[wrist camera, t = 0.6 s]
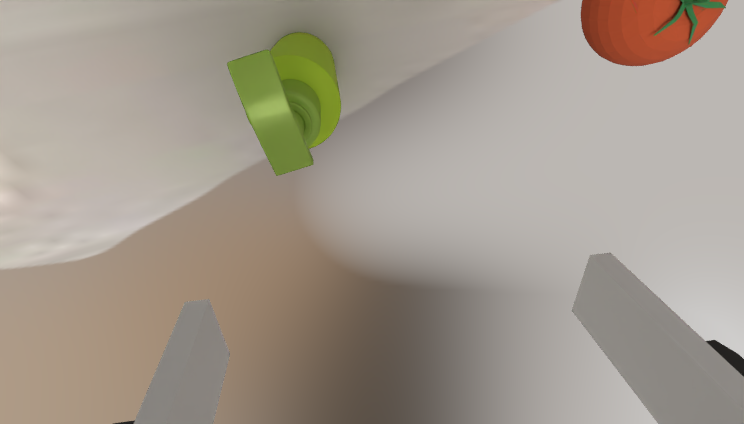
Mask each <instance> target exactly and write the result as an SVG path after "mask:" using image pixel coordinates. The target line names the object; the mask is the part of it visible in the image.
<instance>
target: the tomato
mask: <svg viewBox="0 0 744 424" xmlns="http://www.w3.org/2000/svg"><path fill="white" fill-rule="evenodd" d="M727 2H728V0H583V1H582V7H581V22H582V29H583V33H584V35H585V38H586V40H587V42H588V43H589V45H590V46H591V47H592V49H593V50H594V51H595V52H596V53H597V54H598V55H599V56H601V57H603V58H605V59H607V60H609V61H611V62H613V63H616V64H620V65H626V66H643V65H648V64H653V63H657V62H661V61H664V60H666V59H669V58H671V57H673V56H675V55H677V54H679V53H681V52H682V51H684V50H686V49H687V48H689V47H691V46H692V45H693V44H694V43H695V42H697V41H698V40H699V39H700V38H701V37H702V36H703V35H704V34H705V33H706V32H707V31H708V30H709V29H710V28H711V27H712V25H713V24H714V23H715V21H716V20H717V19H718V17H719V16H720V15H721V13H722V11H723V9H724V8H726V7H725V6H726V4H727Z"/></svg>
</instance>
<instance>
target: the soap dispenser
mask: <svg viewBox="0 0 744 424" xmlns="http://www.w3.org/2000/svg"><path fill="white" fill-rule="evenodd" d="M227 65H228V69H229V71H230V74H231V77H232V79H233V82H234V84H235V87H236V89H237V92H238V94H239V97H240V99H241V102H242V104H243V107H244V109H245V111H246V115H247V117H248V120H249V122H250V124H251V125H252V127H253V129H254V131H255V133H256V135H257V137H258V139H259V141H260V144H261V146H262V148H263V150H264V152H265V154H266V156H267V158H268V160H269V162H270V164H271V165H272V168H273V170H274V172H275V174H276V176H278V175H282V174H285V173H288V172H291V171H294V170H298V169H301V168H304V167H307V166H311V165H313V158H312V155H311V153H310V151H309V149H310V148H312V147H315V146H317V145H319V144H321V143H322V142H324V141H325V140H326V139H327V138H328V137H329V136H330V135H331V134H332V132H333V131H334V129H335V128H336V126H337V123H338V121H339V117H340V112H341V101H340V94H339V88H338V82H337V77H336V71H335V65H334V60H333V57H332V54H331V52H330V50H329V49H328V47H327V46H326V45H325V44H324V43H323V42H322V41H321V40H320V39H319V38H317V37H315V36H313V35H311V34H308V33H302V32H298V33H292V34H289V35H286V36H284V37H283V38H281V39H280V40H279V41H278V42H277V43H276V44H275V46H274V47H273V48H272V49H271V51H270V52H269V50H264V51H260V52H257V53H254V54H251V55H248V56H245V57H242V58H239V59H236V60H233V61H230V62H228V63H227Z"/></svg>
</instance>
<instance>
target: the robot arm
mask: <svg viewBox="0 0 744 424" xmlns="http://www.w3.org/2000/svg"><path fill="white" fill-rule="evenodd" d="M572 312H573V313H574V314H575V315H576V317H577V318H578V319H579V321H580V322H581V323H582V325H583V326H584V327H585V328H586V330H587V331H588V332H589V334H590V335H591V336H592V338H593V339H594V340H595V342H596V343H597V344H598V346H599V347H600V348H601V349H602V350H603V352H604V353H605V355H606V356H607V357H608V359H609V360H610V361H611V362H612V364H613V365H614V366H615V367H616V369H617V370H618V372H619V373H620V374H621V376H622V377H623V378H624V379H625V381H626V382H627V383H628V385H629V386H630V387H631V389H632V390H633V391H634V393H635V394H636V395H637V396H638V398H639V399H640V400H641V402H642V403H643V404H644V406H645V407H646V408H647V409H648V411H649V412H650V413H651V415H652V416H653V417H654V419H655V420H656V421H657V422H658V424H744V359H743V358H742V357H741V356H740V355H738V354H737V353H736V352H734V351H732V350H730V349H729V348H727V347H726V346H724V345H722V344H721V343H719V342H717V341H716V340H711V341H705V340H704V339H702V338H701V337H700V336H699V335H698V334H697V333H696V332H695V331H694V330H693V329H692V328H691V327H690V326H689V325H687V324H686V323H685V322H684V321H683V320H682V319H681V318H680V317H679V316H678V315H677V314H676V313H675V312H674V311H672V310H671V309H670V308H669V307H668V306H667V305H666V304H665V303H664V302H663V301H662V300H661V299H660V298H658V297H657V296H656V295H655V294H654V293H653V292H652V291H651V290H650V289H649V288H648V287H647V286H646V285H644V284H643V283H642V282H641V281H640V280H639V279H638V278H637V277H636V276H635V275H634V274H633V273H632V272H631V271H629V270H628V269H627V268H626V267H625V266H624V265H623V264H622V263H621V262H620V261H619V260H618V259H617V258H616V257H615V256H613V255H612V254H611V253H604V254H596V255H590V257H589V260H588V263H587V266H586V269H585V272H584V275H583V278H582V281H581V284H580V287H579V290H578V293H577V296H576V299H575V302H574V305H573V309H572ZM229 356H230V353H229V350H228V347H227V345H226V342H225V340H224V337H223V334H222V332H221V329H220V327H219V324H218V321H217V319H216V316H215V313H214V311H213V308H212V305H211V303H210V300H209V299H208V300H199V301H191V302H185V303H184V306H183V308H182V310H181V313H180V315H179V318H178V320H177V323H176V325H175V327H174V329H173V332H172V334H171V336H170V339H169V341H168V344H167V346H166V348H165V351H164V353H163V355H162V358H161V360H160V362H159V365H158V367H157V370H156V372H155V374H154V377H153V379H152V382H151V384H150V386H149V388H148V391H147V393H146V396H145V398H144V400H143V403H142V405H141V408H140V410H139V412H138V414H137V417H136V419H135V421H129V422H121V423H115V424H213V422H214V418H215V414H216V409H217V405H218V401H219V397H220V393H221V389H222V385H223V381H224V377H225V372H226V368H227V364H228V360H229Z"/></svg>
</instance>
